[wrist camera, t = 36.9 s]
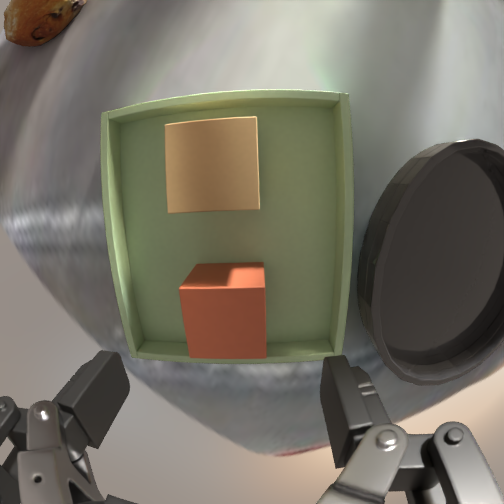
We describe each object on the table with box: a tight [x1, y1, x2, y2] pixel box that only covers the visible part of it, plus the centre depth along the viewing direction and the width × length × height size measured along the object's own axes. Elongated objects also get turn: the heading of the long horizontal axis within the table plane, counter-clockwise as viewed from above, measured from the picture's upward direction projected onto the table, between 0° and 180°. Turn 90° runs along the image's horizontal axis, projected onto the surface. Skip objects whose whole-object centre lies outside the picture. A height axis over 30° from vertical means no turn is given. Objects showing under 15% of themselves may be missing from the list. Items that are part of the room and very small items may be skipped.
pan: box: [357, 139, 504, 385], centre depth 17 cm, size 20×20×3 cm
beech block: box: [165, 117, 260, 214], centre depth 14 cm, size 4×4×4 cm
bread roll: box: [4, 0, 87, 47], centre depth 10 cm, size 10×10×8 cm
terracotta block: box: [179, 262, 267, 359], centre depth 16 cm, size 4×4×4 cm
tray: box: [100, 89, 354, 364], centre depth 17 cm, size 15×17×2 cm
